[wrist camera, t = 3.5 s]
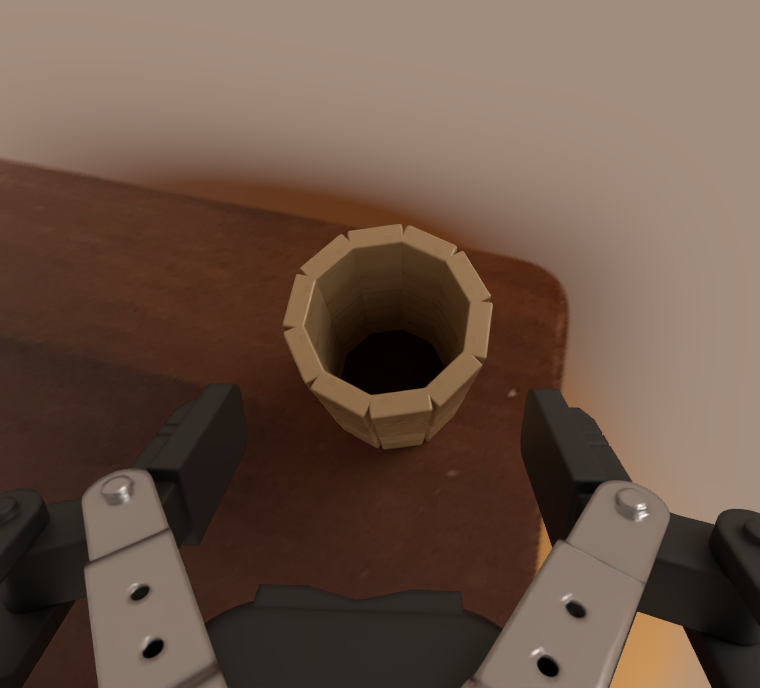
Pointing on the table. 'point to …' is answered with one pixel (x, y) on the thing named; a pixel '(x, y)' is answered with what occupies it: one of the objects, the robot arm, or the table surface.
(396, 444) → the tan hollow cylinder
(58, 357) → the table surface
